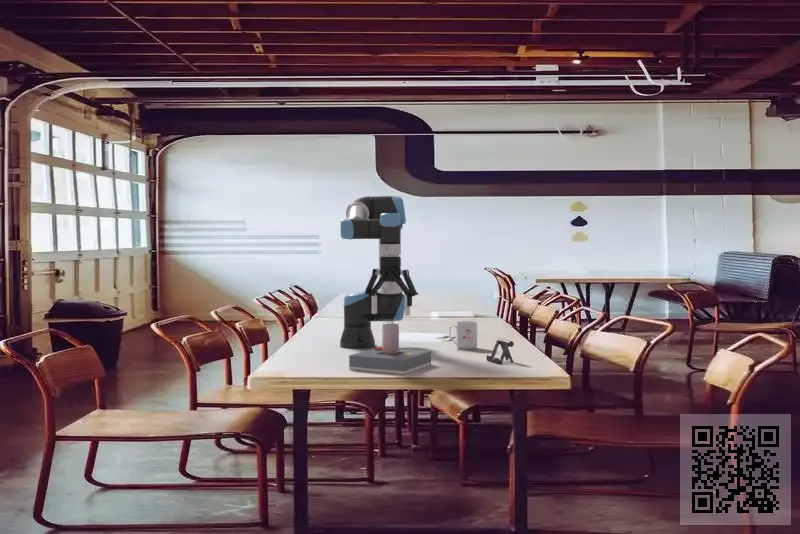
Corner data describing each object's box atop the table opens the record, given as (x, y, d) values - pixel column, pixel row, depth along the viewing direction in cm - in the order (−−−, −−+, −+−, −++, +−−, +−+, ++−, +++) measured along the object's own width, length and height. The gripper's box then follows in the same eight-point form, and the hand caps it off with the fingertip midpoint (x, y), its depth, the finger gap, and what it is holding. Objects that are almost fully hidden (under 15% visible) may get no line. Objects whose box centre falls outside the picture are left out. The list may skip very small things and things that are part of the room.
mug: (474, 346, 322) (474, 320, 322) (479, 349, 313) (479, 323, 313) (446, 347, 320) (446, 321, 320) (451, 350, 312) (451, 323, 311)
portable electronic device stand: (486, 361, 285) (486, 339, 285) (503, 359, 288) (503, 337, 288) (498, 364, 277) (498, 342, 277) (516, 363, 280) (516, 340, 280)
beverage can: (382, 362, 275) (381, 322, 275) (398, 362, 276) (398, 321, 275) (383, 365, 270) (383, 323, 269) (399, 365, 270) (399, 323, 269)
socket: (349, 369, 268) (349, 353, 268) (379, 360, 288) (379, 345, 287) (404, 374, 258) (403, 357, 258) (431, 364, 277) (431, 348, 277)
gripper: (355, 255, 274) (355, 313, 275) (416, 256, 262) (416, 317, 263) (365, 254, 280) (366, 311, 281) (426, 256, 269) (426, 315, 270)
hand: (390, 314), depth 272 cm, fingers open, 13 cm apart
